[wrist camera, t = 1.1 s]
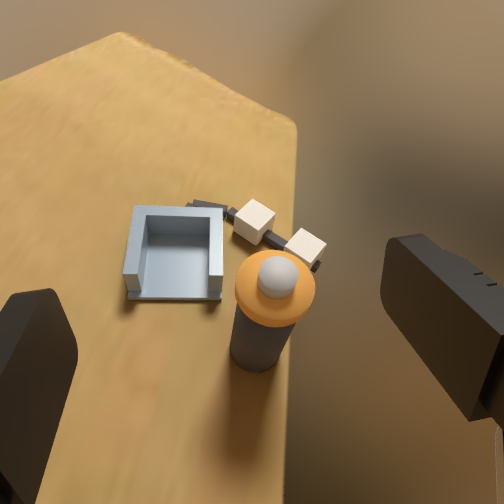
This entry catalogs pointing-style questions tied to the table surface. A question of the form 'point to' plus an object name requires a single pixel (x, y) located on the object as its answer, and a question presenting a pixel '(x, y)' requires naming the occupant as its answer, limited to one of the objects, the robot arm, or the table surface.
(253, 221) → the routed cable
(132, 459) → the table surface
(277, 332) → the grey and orange bottle
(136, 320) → the table surface
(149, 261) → the end holder
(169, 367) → the table surface
